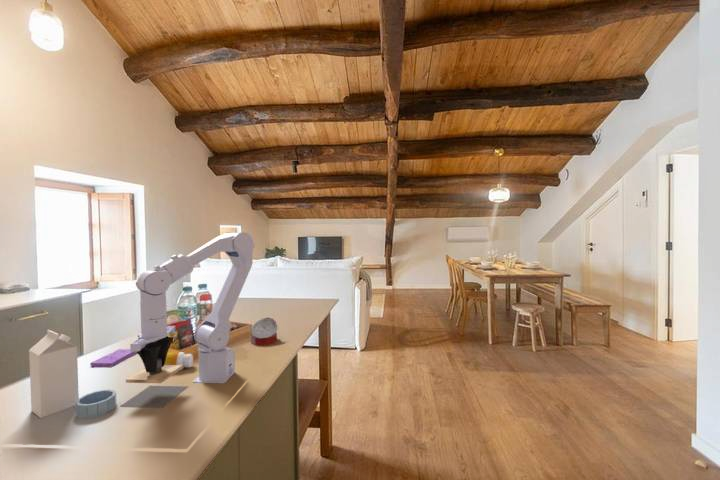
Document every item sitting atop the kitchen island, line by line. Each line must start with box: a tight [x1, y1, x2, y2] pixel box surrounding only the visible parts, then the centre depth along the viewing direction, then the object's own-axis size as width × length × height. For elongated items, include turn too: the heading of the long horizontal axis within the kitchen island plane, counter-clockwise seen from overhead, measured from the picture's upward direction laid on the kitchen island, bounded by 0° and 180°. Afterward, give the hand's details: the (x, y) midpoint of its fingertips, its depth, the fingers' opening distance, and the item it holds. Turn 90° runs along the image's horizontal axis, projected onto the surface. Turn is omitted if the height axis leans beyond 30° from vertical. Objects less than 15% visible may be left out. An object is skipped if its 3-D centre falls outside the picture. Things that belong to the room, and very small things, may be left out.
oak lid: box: [125, 358, 183, 384], centre depth 87 cm, size 9×9×4 cm
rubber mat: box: [119, 385, 189, 409], centre depth 87 cm, size 11×11×1 cm
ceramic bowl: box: [75, 389, 117, 419], centre depth 81 cm, size 8×8×4 cm
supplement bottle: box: [165, 351, 194, 370], centre depth 104 cm, size 5×5×10 cm
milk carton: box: [28, 329, 80, 419], centre depth 82 cm, size 7×7×19 cm
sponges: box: [89, 348, 138, 368], centre depth 114 cm, size 7×13×2 cm, turn 178°
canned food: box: [250, 317, 278, 346], centre depth 131 cm, size 11×10×10 cm
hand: (155, 369), depth 87 cm, fingers closed on oak lid, 3 cm apart
